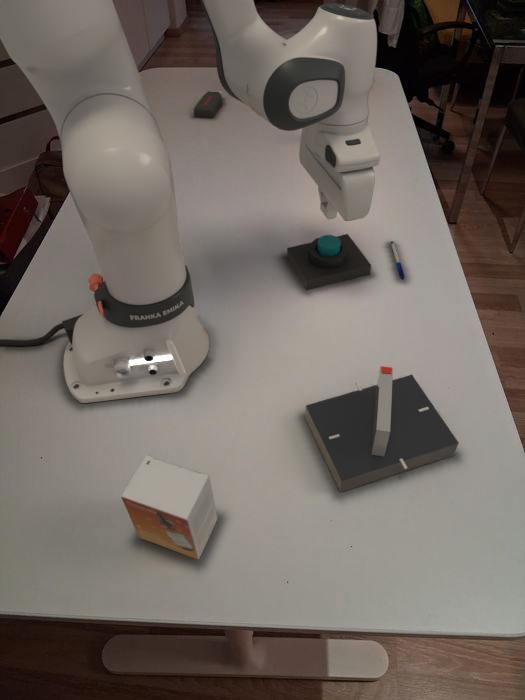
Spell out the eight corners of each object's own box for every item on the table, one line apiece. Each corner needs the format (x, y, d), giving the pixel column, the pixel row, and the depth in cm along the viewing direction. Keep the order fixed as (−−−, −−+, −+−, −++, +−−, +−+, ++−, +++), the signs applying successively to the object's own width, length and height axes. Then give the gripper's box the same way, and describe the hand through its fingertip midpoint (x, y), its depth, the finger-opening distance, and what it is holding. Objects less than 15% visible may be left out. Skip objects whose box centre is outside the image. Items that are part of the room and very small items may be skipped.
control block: (306, 290, 93) (307, 272, 90) (287, 257, 99) (286, 239, 96) (370, 275, 95) (372, 256, 92) (346, 243, 102) (348, 225, 99)
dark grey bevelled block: (194, 116, 142) (192, 106, 140) (207, 98, 150) (206, 87, 148) (213, 118, 141) (212, 107, 139) (225, 99, 149) (224, 89, 147)
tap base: (343, 500, 66) (345, 487, 64) (302, 412, 75) (302, 398, 73) (458, 462, 69) (464, 449, 67) (404, 382, 78) (408, 368, 76)
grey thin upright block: (384, 456, 67) (390, 430, 62) (371, 455, 67) (376, 428, 63) (387, 394, 73) (393, 366, 69) (375, 392, 73) (380, 364, 69)
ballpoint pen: (405, 279, 94) (406, 274, 93) (400, 279, 94) (401, 275, 93) (393, 243, 101) (393, 239, 100) (388, 243, 101) (389, 239, 100)
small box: (138, 538, 64) (117, 496, 56) (161, 497, 67) (144, 452, 60) (199, 562, 62) (186, 521, 54) (219, 518, 65) (210, 474, 57)
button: (322, 258, 93) (322, 250, 92) (313, 245, 96) (314, 237, 94) (343, 253, 94) (344, 245, 92) (334, 241, 96) (335, 232, 95)
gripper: (291, 107, 85) (288, 186, 95) (343, 167, 72) (334, 252, 82) (328, 102, 86) (322, 180, 96) (386, 160, 73) (372, 244, 83)
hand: (328, 214), depth 89 cm, fingers closed
